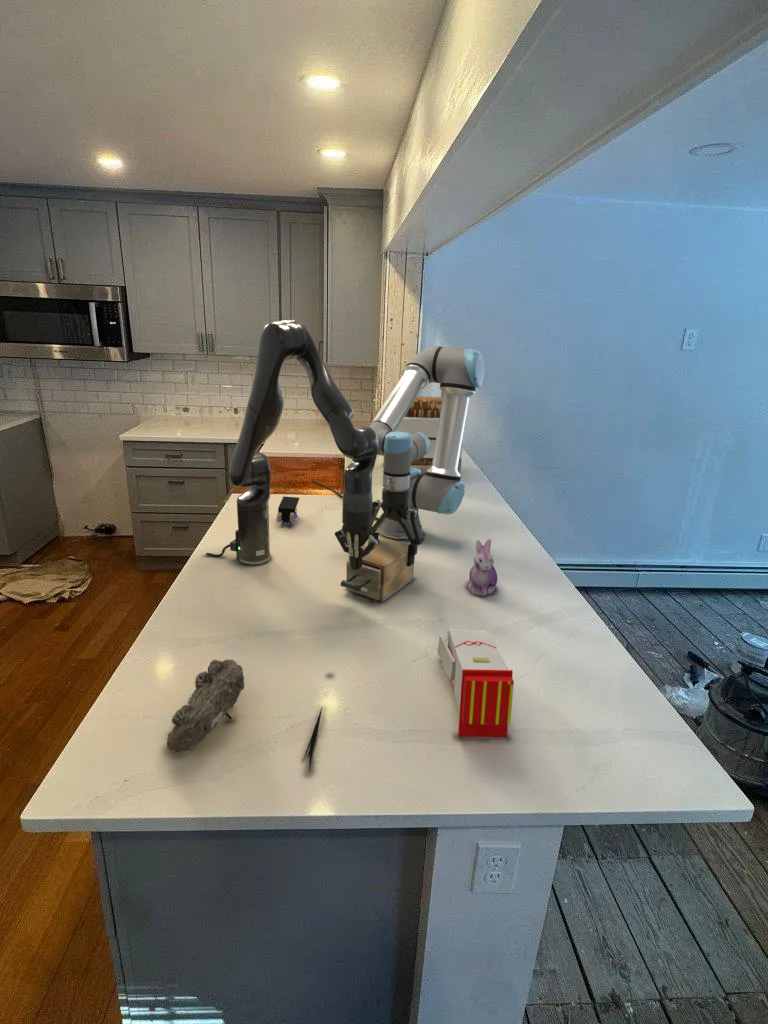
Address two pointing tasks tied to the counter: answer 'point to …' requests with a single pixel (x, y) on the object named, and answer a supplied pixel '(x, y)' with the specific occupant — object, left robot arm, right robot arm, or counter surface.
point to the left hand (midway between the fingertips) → (356, 568)
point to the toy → (478, 682)
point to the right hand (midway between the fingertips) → (392, 559)
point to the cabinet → (390, 565)
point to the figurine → (483, 571)
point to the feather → (313, 740)
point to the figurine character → (287, 510)
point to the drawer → (363, 580)
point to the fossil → (206, 705)
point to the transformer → (425, 425)
